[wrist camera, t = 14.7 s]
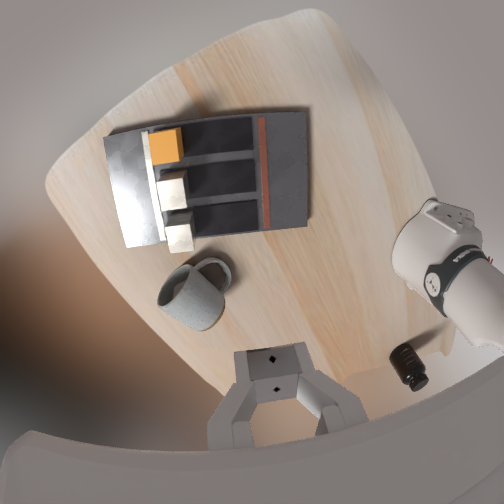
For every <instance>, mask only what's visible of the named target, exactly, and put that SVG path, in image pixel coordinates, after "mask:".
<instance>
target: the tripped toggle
mask: <svg viewBox="0 0 504 504" xmlns="http://www.w3.org/2000/svg"><path fill="white" fill-rule="evenodd" d="M148 138H149V145H150V152H151V159H152V165H158V164H164V163H171V162H177V161H180V160H181V158H182V157H183V156H184V151H183V143H182V134H181V127H180V128H174V129H168V130H162V131H157V132H154V133H151V134H148Z"/></svg>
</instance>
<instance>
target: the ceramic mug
mask: <svg viewBox="0 0 504 504" xmlns="http://www.w3.org/2000/svg"><path fill="white" fill-rule="evenodd" d="M216 262H217V263H218V264H219V265H220V266H221V267H222V269H223V271H224V273H226V279H225V281H224V284H223V285H222V287H221V288H220V289H219V290H218V289H217V288H216V287H215V286H214V285H213V284H212V283H210V282H209V281H208V280H207V279H206V278H205V277H204V276H203V275H202V274H201V273H200V272H198V270H199V269H200V268H201V267H203V266H205V265H207V264H208V263H216ZM230 283H231V271H230V269H229V267H228V266H227V264H226V263H225V262H223V261H222V260H220V259H218V258H214V257H213V258H206V259H204V260H202V261H200V262H199V263H198V264H196V265H195V266H194V267H193V266H192V265H190V264H185V265H183V266H181V267H179V268H178V269H177V270H175V271H174V272H173V273H172V274H171V275H170V277H169V278H168V279H167V281H166V282H165V283H164V285H163V286H162V288H161V291H160V293H159V296H158V300H157V304H158V307H159V308H160V309H161V310H163V311H165V312H166V313H168V314H169V315H171V316H172V317H174V318H176V319H177V320H179V321H181V322H182V323H184V324H185V325H187V326H188V327H190V328H192V329H195V330H197V331H206V330H208V329H210V328H212V327H213V326H214V325H215V324H216V323H217V322H218V321H219V319H220V318H221V316H222V315H223V312H224V309H225V298H224V296H223V293H224V292H225V291H226V290H227V289H228V287H229V285H230Z"/></svg>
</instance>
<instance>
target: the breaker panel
mask: <svg viewBox="0 0 504 504" xmlns="http://www.w3.org/2000/svg"><path fill="white" fill-rule="evenodd" d="M180 127H181V134H182V143H183V151H184V156H183V157H182V158H181V160H180V161H177V162H171V163H164V164H158V165H152V159H151V152H150V145H149V138H148V134H151V133H154V132H157V131H162V130H168V129H174V128H180ZM103 139H104V146H105V152H106V158H107V163H108V169H109V174H110V179H111V184H112V189H113V194H114V198H115V203H116V207H117V211H118V215H119V219H120V223H121V227H122V231H123V235H124V238H125V242H126V246H127V248H128V247H135V246H143V245H150V244H158V243H166V242H168V245H169V249H170V253H178V252H186V251H194V249H195V241H196V239H198V238H207V237H215V236H224V235H233V234H241V233H250V232H260V231H269V230H278V229H288V228H298V227H307V216H308V163H307V123H306V112H272V113H252V114H238V115H227V116H217V117H208V118H200V119H192V120H185V121H179V122H173V123H167V124H161V125H156V126H150V127H145V128H140V129H136V130H131V131H127V132H122V133H118V134H114V135H110V136H106V137H103Z"/></svg>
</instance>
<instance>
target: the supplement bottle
mask: <svg viewBox="0 0 504 504" xmlns="http://www.w3.org/2000/svg"><path fill="white" fill-rule="evenodd" d="M389 360H390V362H391V364H392V366H393V367H394V369H395V370H396V372H397V374H398V376H399V377H400V379H401V381H402V382H403V383H404V384H406V385H409V387H410V388H411V390H412V391H414V392H415V391H418V390H420V389H421V388H423V387H424V386H425V385H426V384H427V383H428V381H429V379H428V377H427V376H426V374H425V370H426V369H425V365H424V364H423V363H422V361H421V359H420V358H419V356H418V355H417V354H416V352H415V351H414V349H413V348H412V346H411V345H410V344H402V345H400V346H398V347H397V348H396V349H395V350H394V351H393V352H392V353H391V355H390V358H389Z"/></svg>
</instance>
